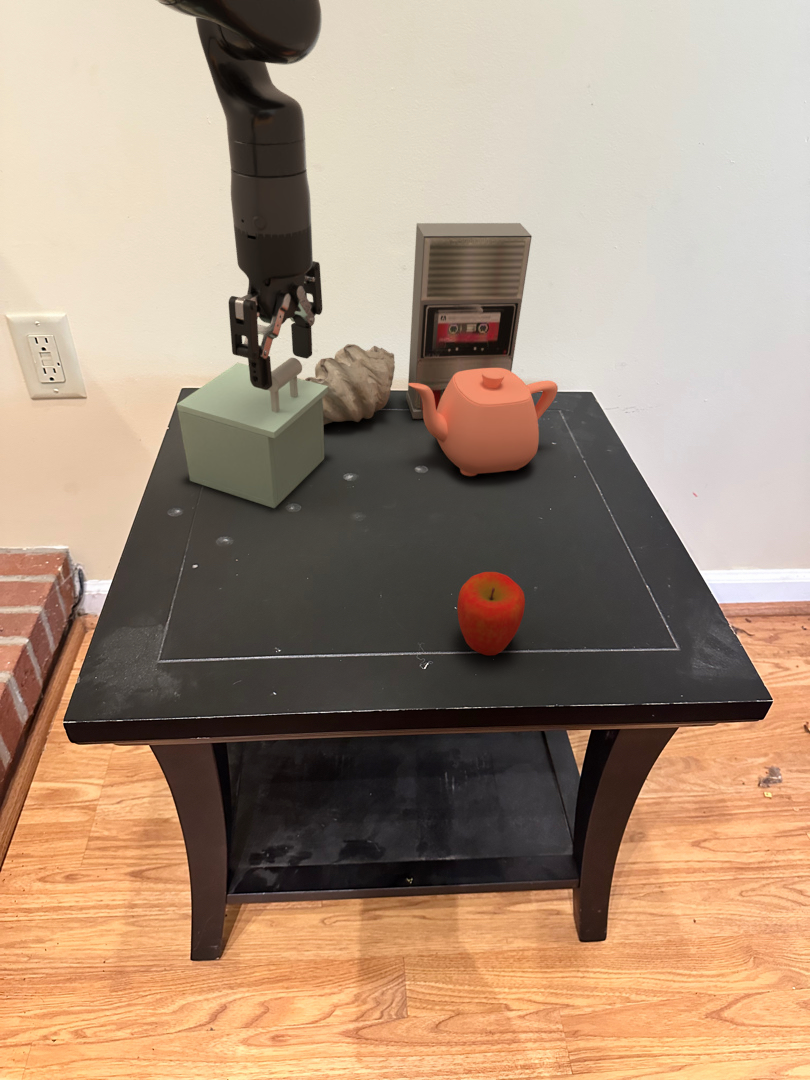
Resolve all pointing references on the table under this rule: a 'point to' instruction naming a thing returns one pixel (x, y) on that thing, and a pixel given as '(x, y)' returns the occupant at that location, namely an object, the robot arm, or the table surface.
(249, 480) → the pale green hollow box
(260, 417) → the lid
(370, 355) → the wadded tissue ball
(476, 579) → the apple
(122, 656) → the table surface
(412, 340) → the cassette tape recorder
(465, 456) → the teapot
